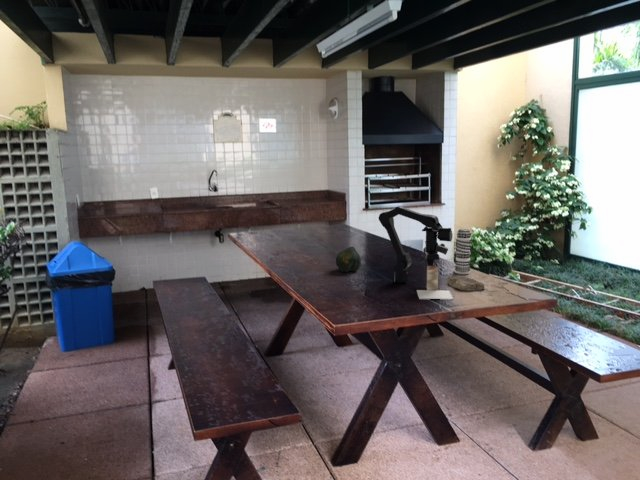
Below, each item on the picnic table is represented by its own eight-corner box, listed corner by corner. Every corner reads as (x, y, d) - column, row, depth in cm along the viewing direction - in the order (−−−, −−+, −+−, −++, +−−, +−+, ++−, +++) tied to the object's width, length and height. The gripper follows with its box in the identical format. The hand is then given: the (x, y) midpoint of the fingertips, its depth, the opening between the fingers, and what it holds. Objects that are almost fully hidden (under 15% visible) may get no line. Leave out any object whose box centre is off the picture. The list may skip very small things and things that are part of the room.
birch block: (427, 291, 267) (428, 267, 265) (426, 288, 272) (427, 265, 270) (437, 291, 267) (438, 268, 265) (436, 288, 272) (437, 265, 270)
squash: (327, 262, 309) (343, 244, 302) (338, 258, 322) (354, 241, 316) (343, 280, 305) (360, 262, 299) (354, 275, 318) (370, 258, 312)
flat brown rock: (441, 283, 284) (461, 292, 265) (442, 274, 283) (462, 282, 264) (464, 281, 288) (486, 290, 269) (465, 272, 287) (486, 281, 268)
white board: (419, 299, 253) (419, 298, 253) (416, 291, 267) (416, 290, 267) (453, 299, 252) (453, 298, 252) (448, 291, 266) (449, 290, 265)
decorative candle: (471, 274, 300) (473, 230, 295) (454, 273, 301) (456, 230, 297) (470, 270, 308) (472, 228, 304) (453, 270, 310) (455, 227, 306)
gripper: (449, 243, 264) (448, 273, 267) (444, 236, 282) (443, 265, 285) (427, 243, 265) (426, 273, 268) (423, 236, 283) (422, 265, 286)
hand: (430, 269), depth 276 cm, fingers closed
